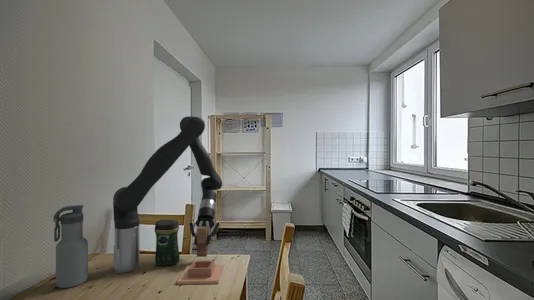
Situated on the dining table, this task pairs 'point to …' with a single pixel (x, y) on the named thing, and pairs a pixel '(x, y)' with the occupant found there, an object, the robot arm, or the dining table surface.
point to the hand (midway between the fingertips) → (201, 244)
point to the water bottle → (70, 248)
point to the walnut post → (202, 241)
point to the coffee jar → (166, 242)
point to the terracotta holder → (201, 273)
